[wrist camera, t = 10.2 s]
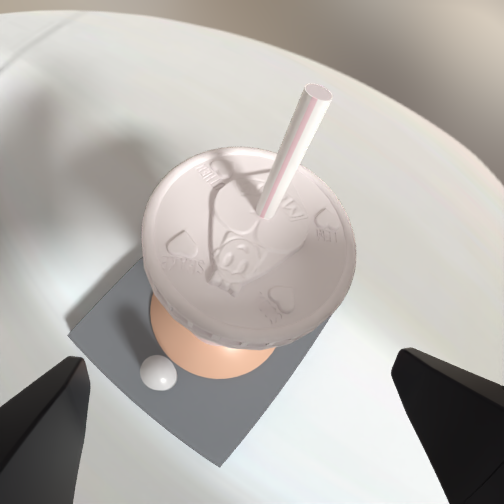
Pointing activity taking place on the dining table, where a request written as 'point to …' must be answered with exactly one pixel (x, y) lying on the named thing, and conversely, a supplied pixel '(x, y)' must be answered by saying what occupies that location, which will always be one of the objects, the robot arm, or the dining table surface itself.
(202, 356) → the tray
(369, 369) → the dining table surface
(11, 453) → the robot arm
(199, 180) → the smoothie
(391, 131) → the dining table surface
